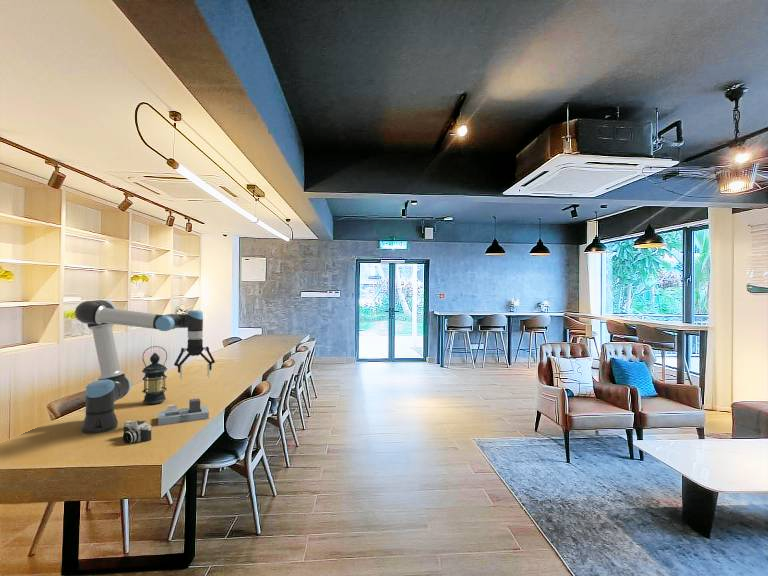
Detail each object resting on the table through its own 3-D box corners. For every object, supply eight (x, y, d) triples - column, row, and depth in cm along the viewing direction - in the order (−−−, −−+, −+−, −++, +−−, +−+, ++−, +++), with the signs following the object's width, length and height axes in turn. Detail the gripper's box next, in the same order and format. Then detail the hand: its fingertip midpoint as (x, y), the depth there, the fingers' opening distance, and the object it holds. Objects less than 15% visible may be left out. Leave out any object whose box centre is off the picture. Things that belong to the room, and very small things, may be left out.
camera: (112, 442, 186) (112, 421, 186) (129, 436, 194) (129, 415, 194) (137, 447, 181) (137, 425, 181) (154, 440, 189) (154, 419, 189)
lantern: (137, 406, 243) (137, 348, 243) (147, 400, 256) (147, 345, 256) (162, 405, 244) (162, 347, 244) (171, 399, 258) (171, 344, 258)
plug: (190, 420, 218) (190, 401, 218) (189, 417, 223) (189, 399, 223) (200, 418, 221) (200, 400, 221) (199, 416, 225) (199, 398, 225)
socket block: (158, 426, 208) (158, 413, 208) (158, 418, 220) (158, 405, 220) (208, 419, 219) (208, 406, 219) (206, 412, 232) (206, 400, 232)
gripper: (169, 340, 212) (169, 381, 212) (220, 338, 224) (220, 376, 224) (169, 339, 219) (168, 378, 219) (218, 336, 231) (218, 373, 231)
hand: (194, 377), depth 222 cm, fingers open, 13 cm apart
